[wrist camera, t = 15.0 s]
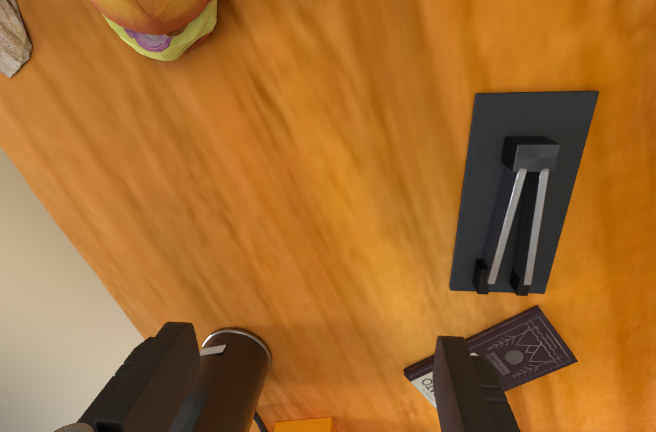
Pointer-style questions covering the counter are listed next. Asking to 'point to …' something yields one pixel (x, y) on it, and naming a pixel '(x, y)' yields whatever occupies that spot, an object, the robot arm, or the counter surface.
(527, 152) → the tongs
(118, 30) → the cheeseburger
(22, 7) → the counter surface
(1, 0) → the fish fossil
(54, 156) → the counter surface
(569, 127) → the mat
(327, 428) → the orange juice
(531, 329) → the chocolate bar
